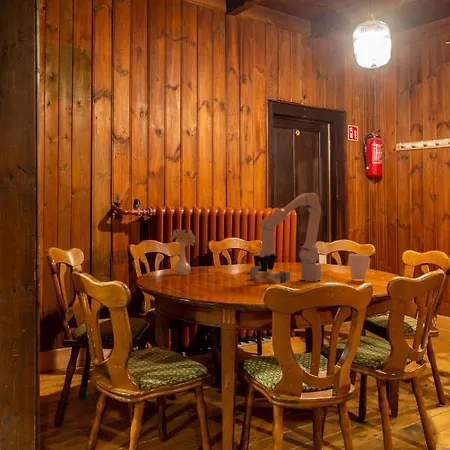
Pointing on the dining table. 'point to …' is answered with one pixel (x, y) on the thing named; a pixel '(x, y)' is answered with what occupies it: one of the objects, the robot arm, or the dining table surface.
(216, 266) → the dining table surface
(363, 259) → the foam cup
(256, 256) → the coffee mug
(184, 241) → the flower vase
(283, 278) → the open end cap
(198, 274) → the dining table surface
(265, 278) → the light brown long block
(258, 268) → the grey rectangular block
